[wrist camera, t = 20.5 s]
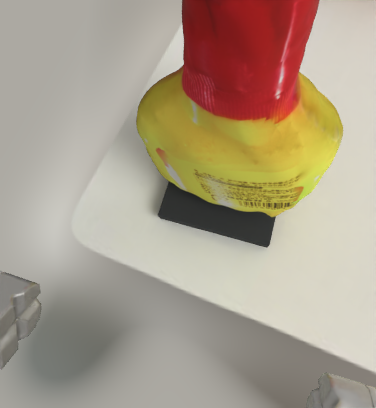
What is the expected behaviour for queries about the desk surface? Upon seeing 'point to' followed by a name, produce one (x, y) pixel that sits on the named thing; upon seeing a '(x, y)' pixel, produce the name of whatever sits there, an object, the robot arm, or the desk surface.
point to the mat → (215, 217)
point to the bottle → (242, 107)
